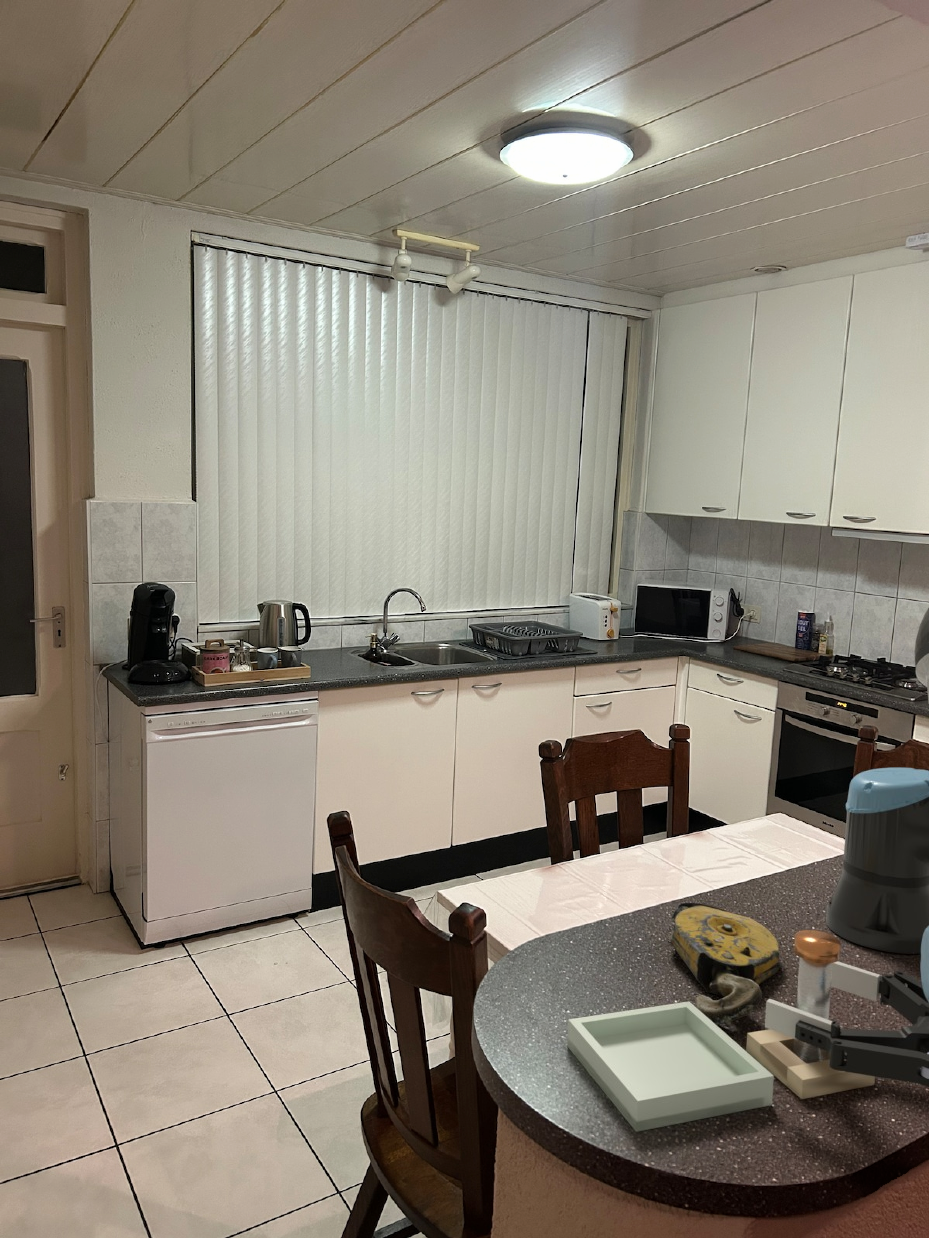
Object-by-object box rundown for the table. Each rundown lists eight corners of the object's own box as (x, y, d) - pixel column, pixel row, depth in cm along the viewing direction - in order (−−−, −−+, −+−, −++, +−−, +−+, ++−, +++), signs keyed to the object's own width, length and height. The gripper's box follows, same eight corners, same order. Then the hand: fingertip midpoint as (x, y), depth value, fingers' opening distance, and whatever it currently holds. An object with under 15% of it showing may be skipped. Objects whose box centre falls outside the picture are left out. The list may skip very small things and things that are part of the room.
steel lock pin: (811, 1052, 100) (820, 928, 99) (840, 1075, 96) (849, 945, 95) (777, 1058, 99) (786, 932, 97) (805, 1082, 94) (814, 950, 93)
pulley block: (667, 972, 104) (677, 880, 133) (656, 1020, 105) (668, 918, 133) (796, 1011, 100) (778, 908, 129) (784, 1060, 101) (769, 947, 130)
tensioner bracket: (814, 1038, 103) (815, 1021, 103) (874, 1084, 94) (875, 1065, 94) (746, 1050, 100) (747, 1032, 100) (801, 1098, 92) (802, 1079, 91)
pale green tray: (687, 1026, 104) (689, 1001, 104) (771, 1104, 90) (773, 1075, 90) (567, 1045, 100) (568, 1019, 99) (636, 1131, 86) (637, 1100, 85)
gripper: (989, 1177, 75) (740, 1071, 89) (1044, 1054, 94) (832, 982, 107) (997, 1089, 74) (745, 996, 88) (1051, 983, 93) (837, 920, 107)
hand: (792, 988), depth 98 cm, fingers open, 13 cm apart
